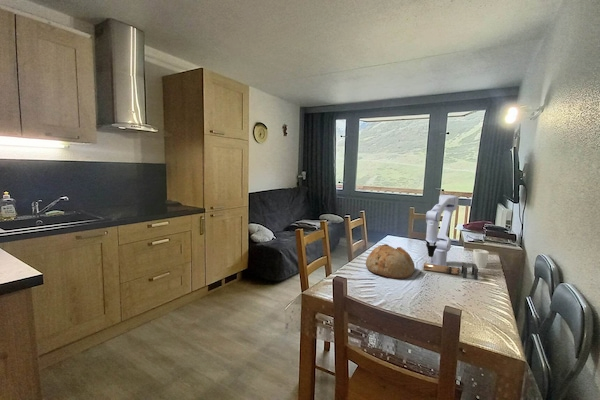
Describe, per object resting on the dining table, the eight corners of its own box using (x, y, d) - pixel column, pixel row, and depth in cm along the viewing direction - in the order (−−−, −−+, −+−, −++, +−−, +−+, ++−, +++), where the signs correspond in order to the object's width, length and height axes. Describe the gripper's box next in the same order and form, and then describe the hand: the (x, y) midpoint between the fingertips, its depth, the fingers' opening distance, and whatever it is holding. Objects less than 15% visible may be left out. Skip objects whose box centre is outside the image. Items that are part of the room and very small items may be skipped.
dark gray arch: (463, 278, 150) (464, 267, 149) (461, 272, 158) (462, 262, 157) (466, 278, 149) (467, 267, 149) (464, 272, 158) (465, 262, 157)
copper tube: (423, 271, 160) (423, 265, 159) (423, 267, 164) (423, 261, 162) (458, 276, 153) (459, 270, 152) (458, 272, 156) (459, 266, 155)
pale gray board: (421, 273, 158) (421, 272, 158) (421, 267, 168) (421, 266, 168) (481, 282, 146) (481, 281, 146) (477, 275, 156) (478, 274, 156)
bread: (358, 270, 162) (359, 245, 160) (378, 261, 178) (379, 238, 176) (402, 284, 143) (403, 256, 141) (420, 272, 160) (421, 247, 158)
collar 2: (474, 279, 148) (474, 268, 147) (471, 273, 156) (472, 263, 155) (477, 280, 147) (478, 269, 147) (474, 274, 156) (475, 263, 155)
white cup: (489, 269, 164) (491, 253, 163) (474, 268, 166) (476, 252, 164) (483, 265, 172) (485, 249, 170) (469, 264, 173) (471, 248, 172)
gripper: (440, 235, 150) (438, 259, 152) (439, 229, 163) (437, 252, 165) (426, 233, 153) (424, 257, 154) (426, 228, 166) (424, 250, 168)
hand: (430, 254), depth 160 cm, fingers open, 7 cm apart
